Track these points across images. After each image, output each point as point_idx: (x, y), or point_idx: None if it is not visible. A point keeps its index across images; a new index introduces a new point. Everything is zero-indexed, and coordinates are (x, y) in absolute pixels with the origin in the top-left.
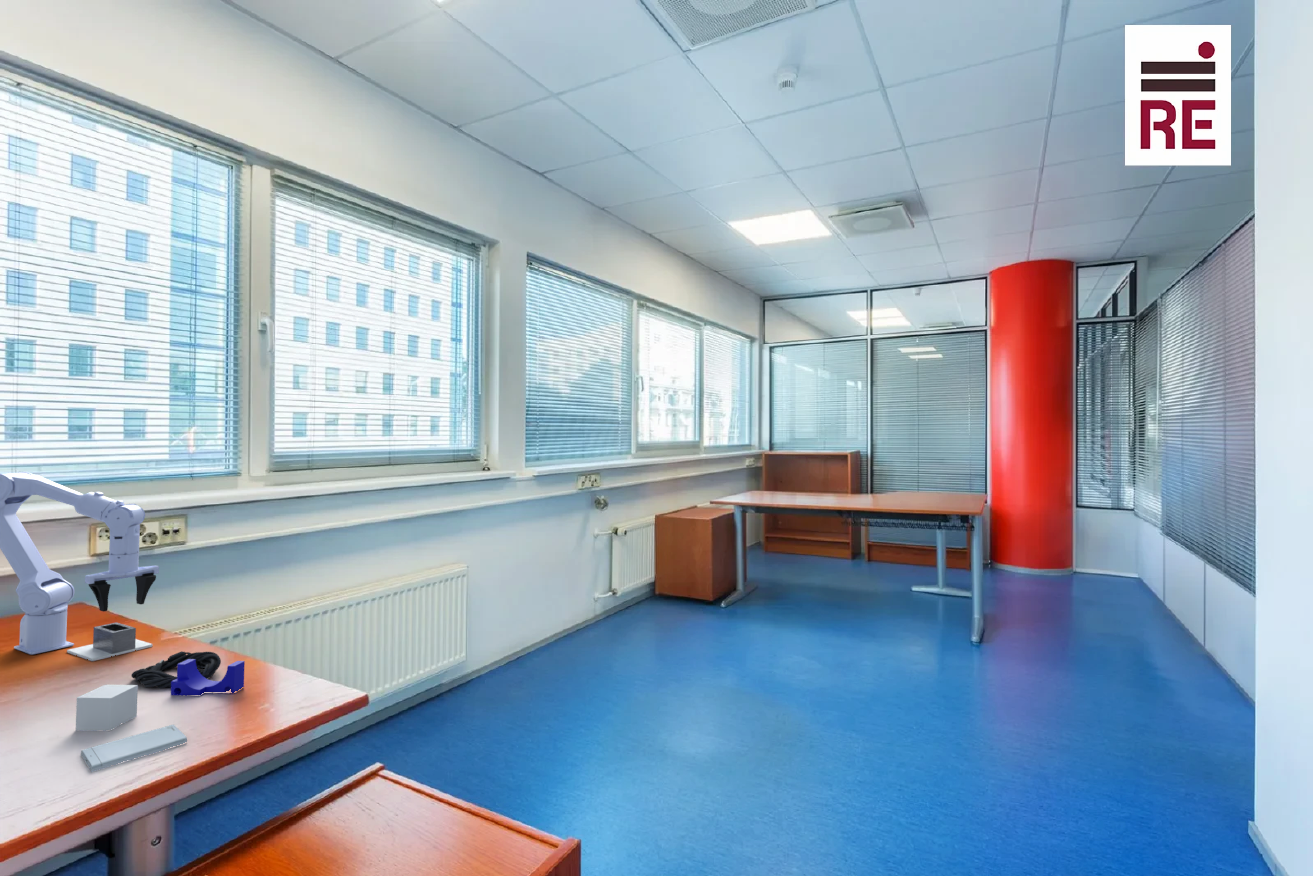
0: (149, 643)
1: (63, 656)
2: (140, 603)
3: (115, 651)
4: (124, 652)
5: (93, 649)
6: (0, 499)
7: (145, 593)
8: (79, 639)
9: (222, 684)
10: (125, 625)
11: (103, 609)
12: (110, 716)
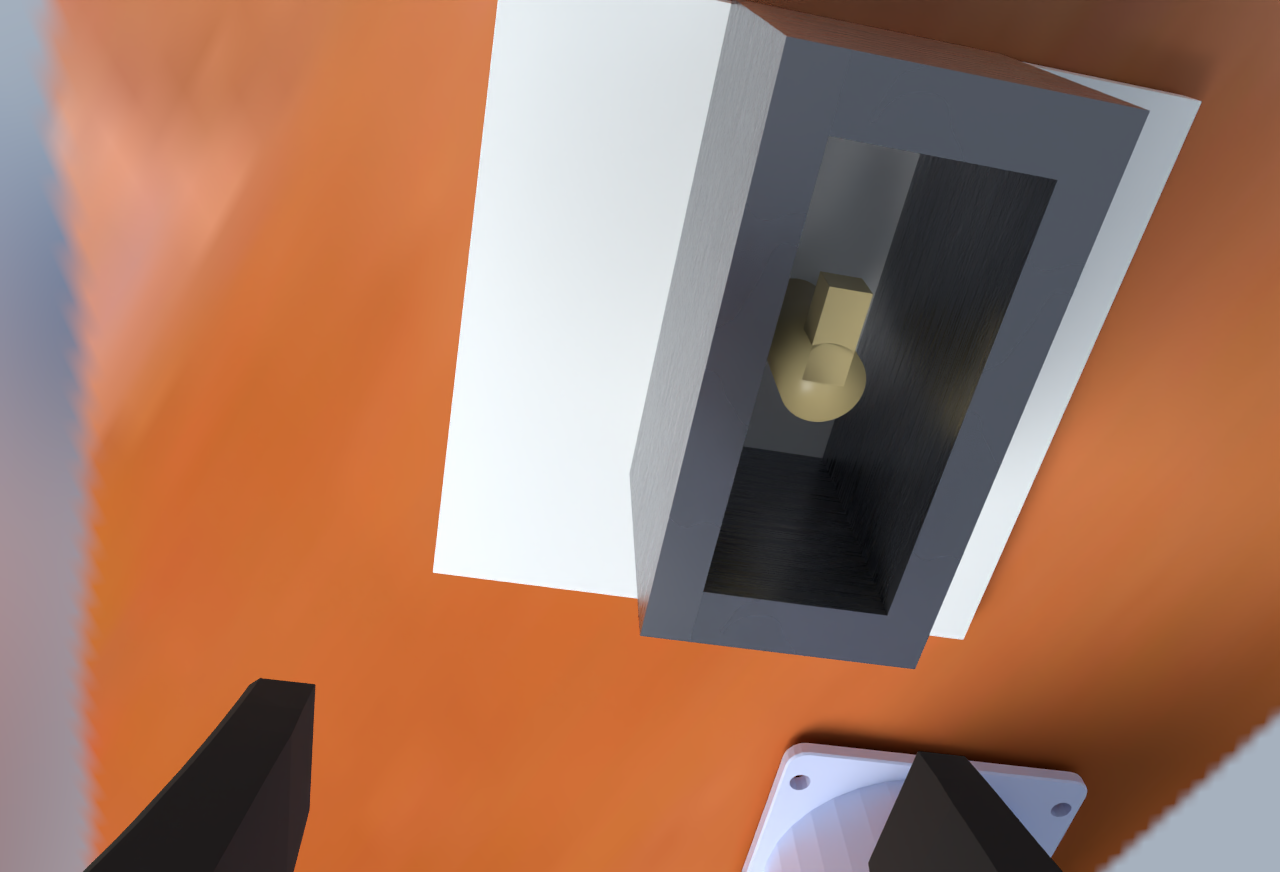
0: (502, 32)
1: (1058, 542)
2: (307, 717)
3: (974, 48)
4: None
5: None
6: None
7: (149, 865)
8: (626, 864)
9: None
10: (720, 373)
11: (992, 793)
12: None
